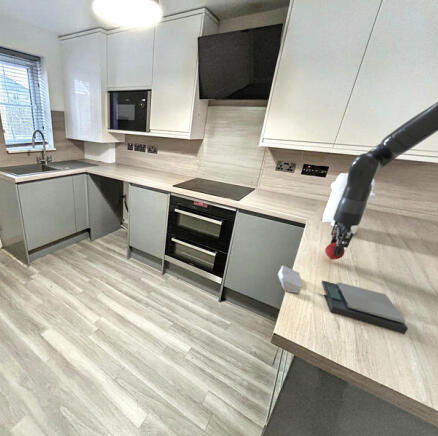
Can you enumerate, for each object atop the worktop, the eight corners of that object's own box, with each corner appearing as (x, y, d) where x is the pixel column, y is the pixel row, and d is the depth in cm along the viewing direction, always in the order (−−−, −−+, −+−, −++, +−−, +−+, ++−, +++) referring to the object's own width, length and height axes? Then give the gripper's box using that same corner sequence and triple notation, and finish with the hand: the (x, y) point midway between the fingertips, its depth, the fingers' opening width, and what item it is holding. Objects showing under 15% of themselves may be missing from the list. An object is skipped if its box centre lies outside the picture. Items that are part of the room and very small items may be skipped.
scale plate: (384, 296, 71) (385, 294, 71) (404, 323, 61) (405, 320, 60) (336, 284, 75) (337, 281, 75) (347, 307, 65) (348, 304, 65)
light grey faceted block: (291, 301, 75) (302, 292, 71) (272, 290, 77) (281, 281, 73) (294, 278, 82) (304, 269, 78) (276, 269, 84) (285, 260, 80)
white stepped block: (367, 240, 117) (393, 180, 106) (342, 237, 118) (365, 178, 108) (337, 221, 142) (356, 171, 131) (316, 218, 143) (333, 169, 133)
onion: (343, 264, 88) (350, 245, 85) (325, 261, 90) (332, 242, 87) (337, 257, 93) (344, 239, 90) (320, 254, 95) (327, 236, 92)
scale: (381, 301, 72) (385, 294, 71) (404, 334, 60) (409, 326, 60) (320, 285, 78) (322, 279, 78) (330, 312, 67) (333, 305, 66)
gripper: (370, 218, 77) (352, 262, 83) (356, 206, 89) (341, 246, 95) (342, 213, 80) (327, 257, 86) (332, 203, 92) (319, 242, 98)
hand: (334, 251), depth 90 cm, fingers closed on onion, 6 cm apart
